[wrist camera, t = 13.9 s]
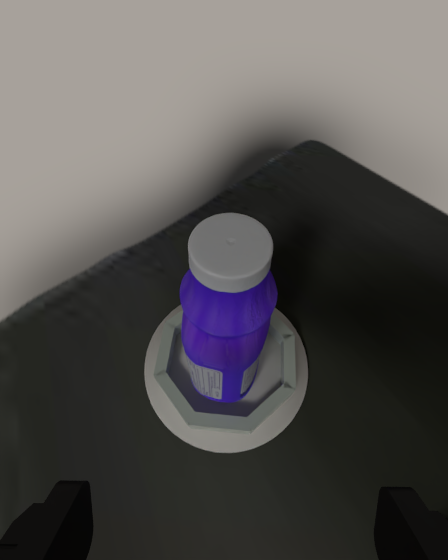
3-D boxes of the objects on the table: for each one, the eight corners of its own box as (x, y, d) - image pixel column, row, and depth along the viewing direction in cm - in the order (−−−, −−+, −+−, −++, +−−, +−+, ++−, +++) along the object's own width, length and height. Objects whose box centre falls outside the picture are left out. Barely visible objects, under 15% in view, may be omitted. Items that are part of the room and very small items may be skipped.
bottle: (207, 322, 32) (194, 182, 17) (263, 336, 31) (300, 201, 17) (183, 396, 28) (142, 295, 13) (247, 414, 27) (276, 326, 13)
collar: (234, 270, 36) (235, 257, 34) (340, 374, 30) (348, 365, 28) (115, 352, 31) (108, 342, 29) (213, 498, 25) (212, 499, 23)
